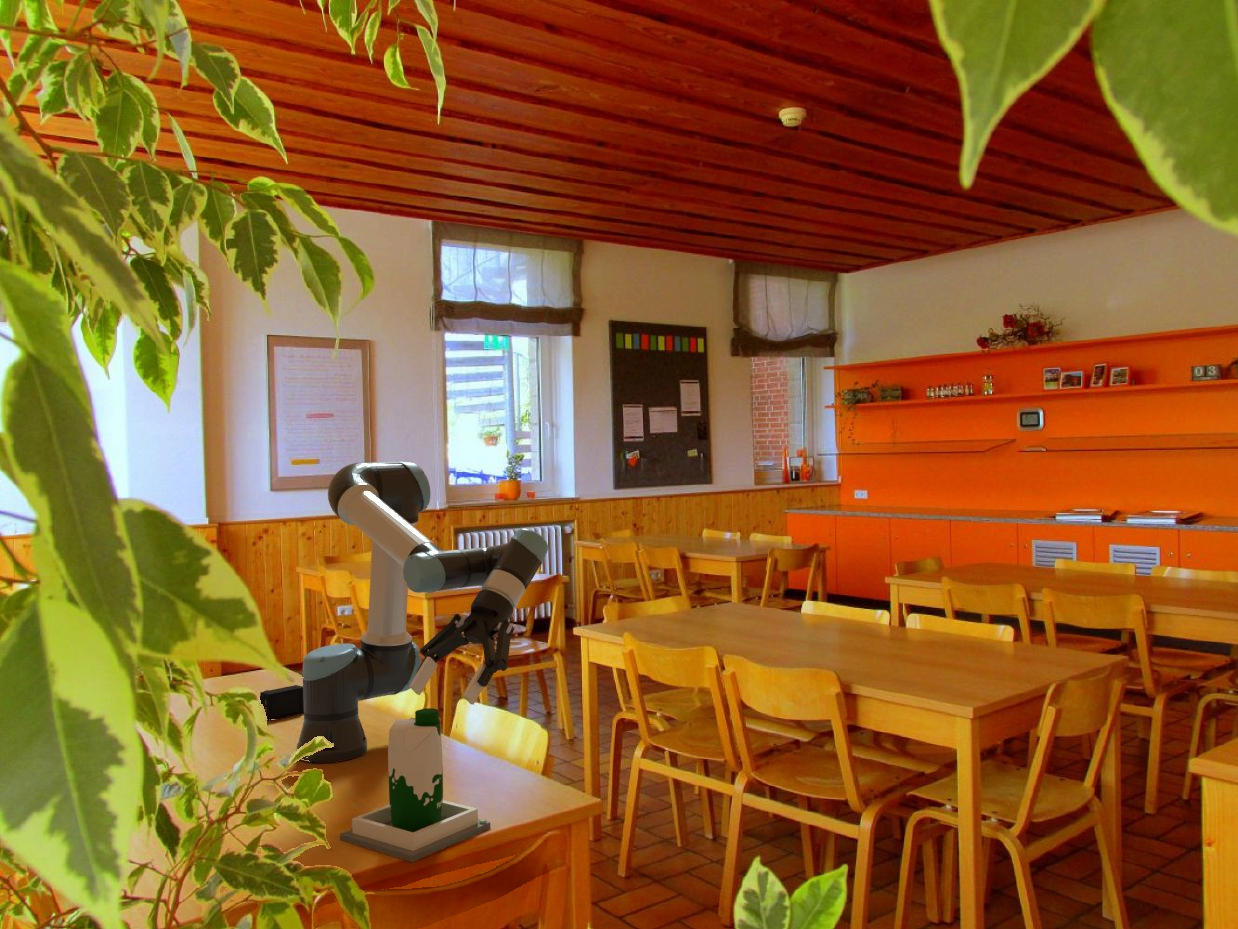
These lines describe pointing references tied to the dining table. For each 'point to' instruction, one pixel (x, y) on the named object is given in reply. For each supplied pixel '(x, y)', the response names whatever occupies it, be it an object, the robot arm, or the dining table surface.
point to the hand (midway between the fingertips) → (440, 695)
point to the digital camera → (283, 702)
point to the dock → (413, 846)
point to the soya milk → (415, 771)
